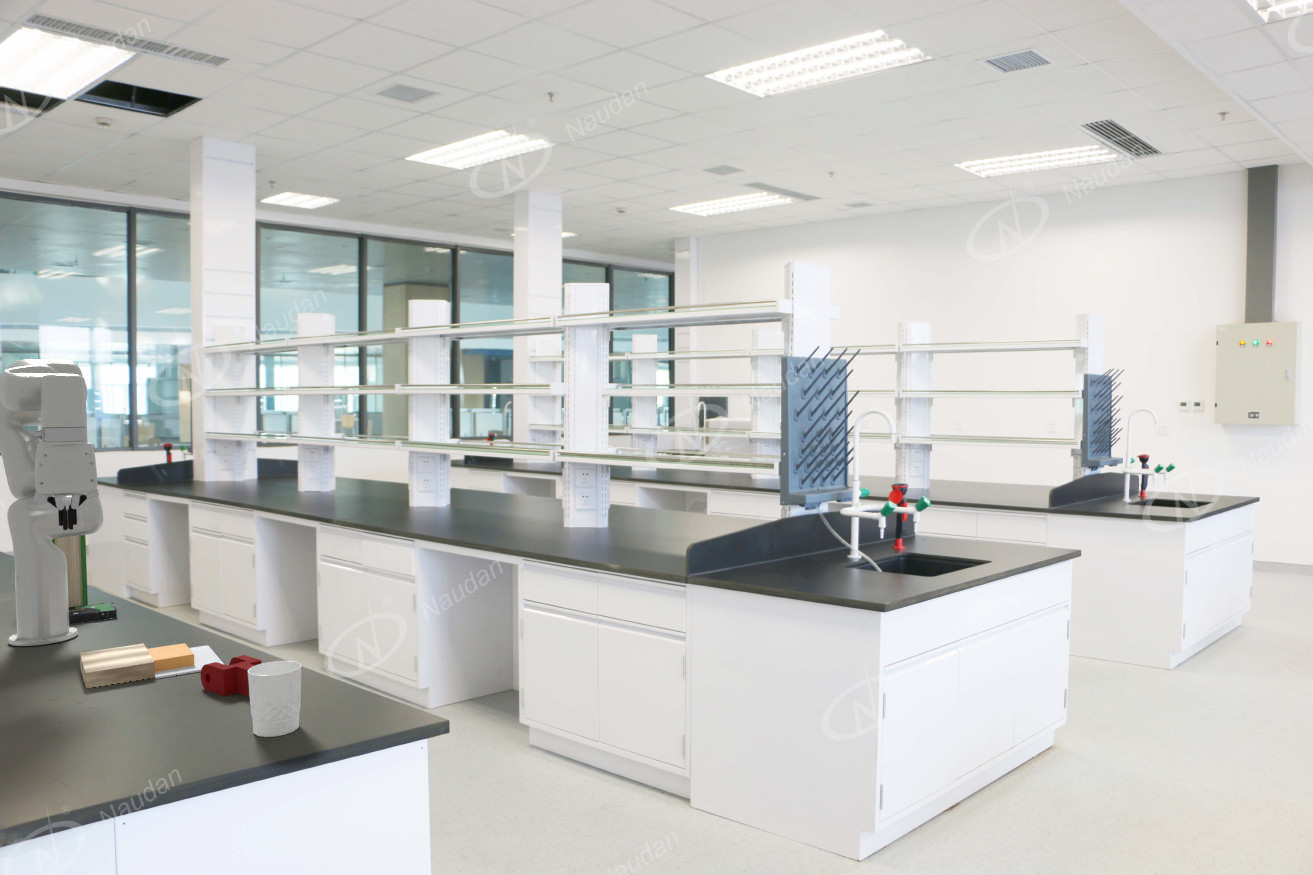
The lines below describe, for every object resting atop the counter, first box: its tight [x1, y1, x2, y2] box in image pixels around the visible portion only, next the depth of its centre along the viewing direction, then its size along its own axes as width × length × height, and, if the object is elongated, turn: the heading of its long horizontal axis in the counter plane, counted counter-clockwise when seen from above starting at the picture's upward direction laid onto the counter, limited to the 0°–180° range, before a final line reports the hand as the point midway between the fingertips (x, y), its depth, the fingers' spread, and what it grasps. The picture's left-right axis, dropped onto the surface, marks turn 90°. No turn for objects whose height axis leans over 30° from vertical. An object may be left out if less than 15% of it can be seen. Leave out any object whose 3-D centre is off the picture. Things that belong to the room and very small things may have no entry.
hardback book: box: [52, 535, 89, 607], centre depth 229 cm, size 18×7×24 cm, turn 44°
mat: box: [154, 645, 224, 680], centre depth 180 cm, size 18×12×1 cm, turn 36°
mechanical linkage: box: [200, 654, 262, 698], centre depth 162 cm, size 16×7×5 cm, turn 54°
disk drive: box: [69, 602, 118, 625], centre depth 216 cm, size 10×3×15 cm
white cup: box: [248, 660, 302, 738], centre depth 143 cm, size 8×8×10 cm
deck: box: [79, 643, 155, 690], centre depth 173 cm, size 16×11×3 cm
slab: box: [147, 643, 194, 672], centre depth 178 cm, size 10×7×2 cm
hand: (68, 528), depth 178 cm, fingers closed
